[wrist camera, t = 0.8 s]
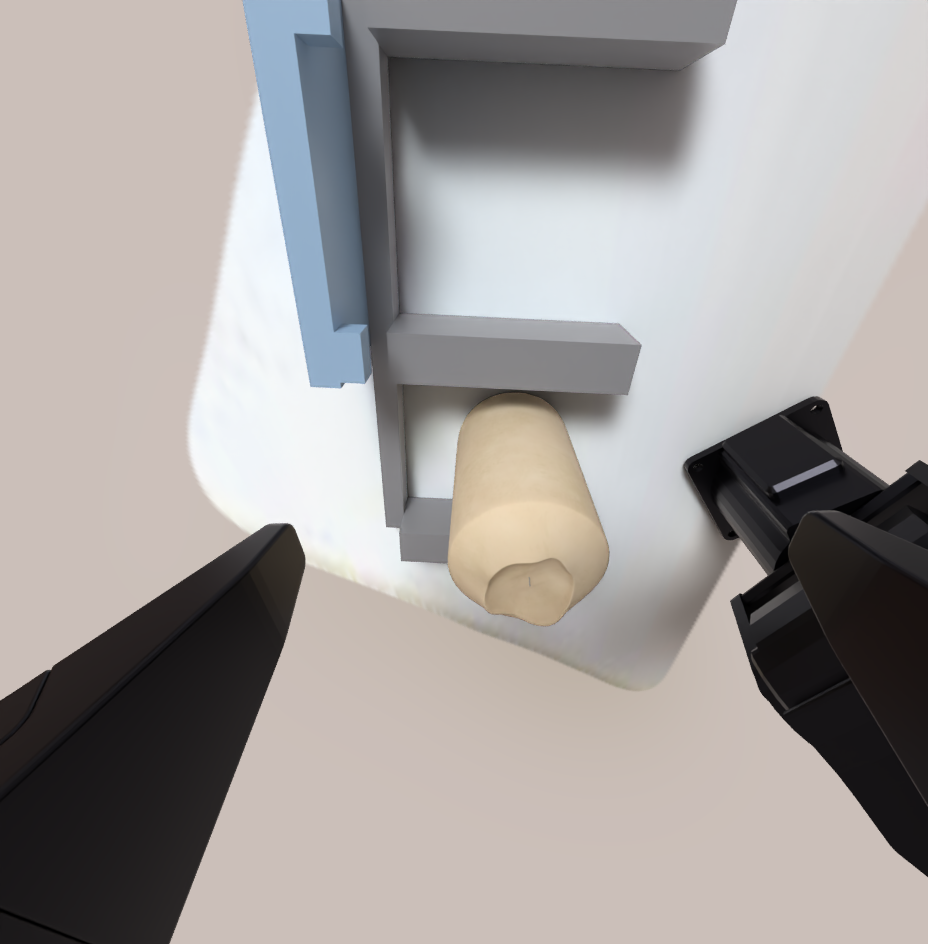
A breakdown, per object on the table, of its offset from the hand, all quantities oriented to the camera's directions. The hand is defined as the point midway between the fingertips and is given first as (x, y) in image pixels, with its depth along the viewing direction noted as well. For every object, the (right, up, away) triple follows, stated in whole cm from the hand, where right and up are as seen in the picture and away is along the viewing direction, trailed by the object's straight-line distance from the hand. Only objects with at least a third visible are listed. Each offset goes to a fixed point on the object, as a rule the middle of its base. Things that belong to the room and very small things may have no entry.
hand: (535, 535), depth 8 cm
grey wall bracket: (0, +7, +11) cm, 13 cm away
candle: (+1, +3, +14) cm, 14 cm away
